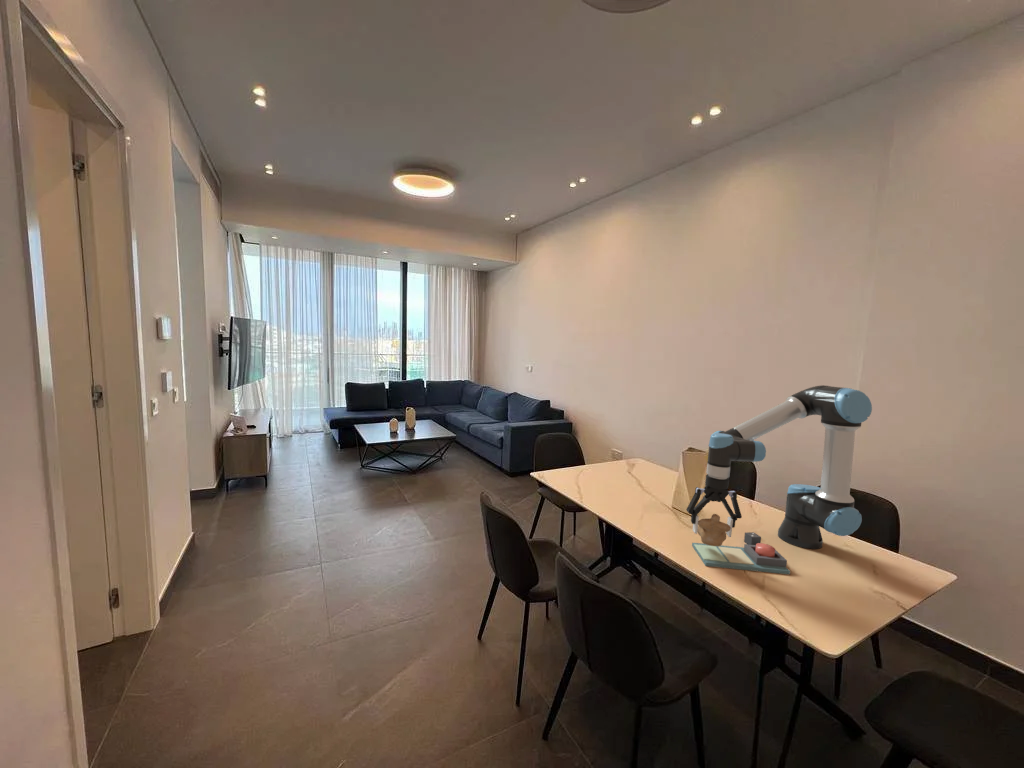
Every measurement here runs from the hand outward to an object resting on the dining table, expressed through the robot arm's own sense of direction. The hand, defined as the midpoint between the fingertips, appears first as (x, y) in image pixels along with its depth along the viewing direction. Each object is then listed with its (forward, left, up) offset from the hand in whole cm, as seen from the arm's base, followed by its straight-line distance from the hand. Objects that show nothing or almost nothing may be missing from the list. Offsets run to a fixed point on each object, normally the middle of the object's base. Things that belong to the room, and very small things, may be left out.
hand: (711, 533), depth 151 cm
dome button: (-19, 0, -7) cm, 20 cm away
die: (-21, -14, -9) cm, 27 cm away
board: (-10, 0, -9) cm, 13 cm away
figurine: (-1, 0, -4) cm, 4 cm away
